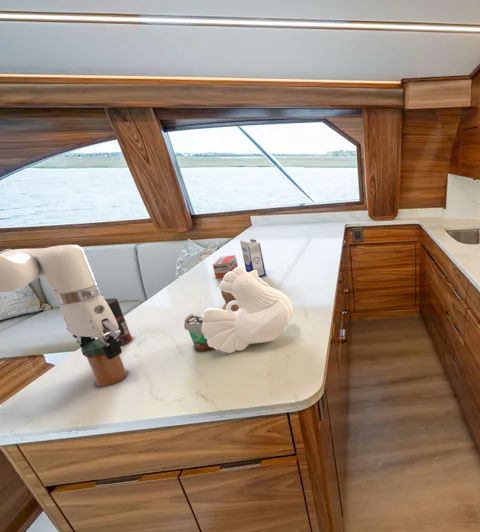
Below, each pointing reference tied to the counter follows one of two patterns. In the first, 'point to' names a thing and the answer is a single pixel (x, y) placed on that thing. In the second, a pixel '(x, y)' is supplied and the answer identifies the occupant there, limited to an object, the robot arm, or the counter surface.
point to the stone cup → (229, 300)
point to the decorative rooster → (246, 313)
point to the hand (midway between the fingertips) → (103, 354)
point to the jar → (106, 369)
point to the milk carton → (253, 257)
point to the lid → (93, 348)
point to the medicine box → (224, 265)
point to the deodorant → (119, 322)
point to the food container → (196, 332)
